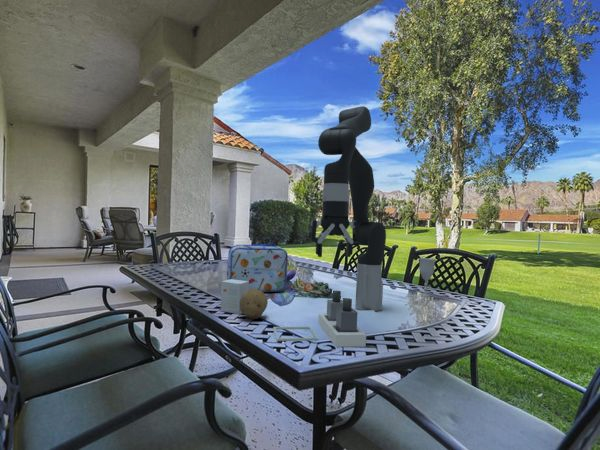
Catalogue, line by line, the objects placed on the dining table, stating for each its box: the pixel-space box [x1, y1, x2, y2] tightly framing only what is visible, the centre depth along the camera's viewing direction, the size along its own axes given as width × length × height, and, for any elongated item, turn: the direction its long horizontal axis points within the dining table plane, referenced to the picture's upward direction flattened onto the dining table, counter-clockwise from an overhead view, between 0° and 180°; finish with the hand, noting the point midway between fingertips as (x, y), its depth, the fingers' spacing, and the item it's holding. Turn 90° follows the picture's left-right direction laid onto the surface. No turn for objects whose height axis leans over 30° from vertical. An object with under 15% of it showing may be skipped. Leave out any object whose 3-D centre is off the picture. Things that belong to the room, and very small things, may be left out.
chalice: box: [418, 257, 437, 298], centre depth 153 cm, size 7×7×18 cm
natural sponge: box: [240, 289, 269, 320], centre depth 111 cm, size 9×9×10 cm
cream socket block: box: [317, 312, 367, 348], centre depth 98 cm, size 20×8×5 cm, turn 10°
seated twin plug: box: [326, 290, 343, 321], centre depth 103 cm, size 4×4×11 cm
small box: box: [220, 279, 249, 315], centre depth 120 cm, size 8×6×10 cm
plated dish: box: [290, 273, 333, 300], centre depth 159 cm, size 35×28×7 cm
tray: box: [273, 326, 319, 342], centre depth 96 cm, size 11×10×2 cm
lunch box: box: [226, 242, 289, 293], centre depth 155 cm, size 28×10×22 cm, turn 107°
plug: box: [336, 297, 358, 332], centre depth 93 cm, size 4×4×11 cm
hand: (333, 256), depth 99 cm, fingers open, 8 cm apart
